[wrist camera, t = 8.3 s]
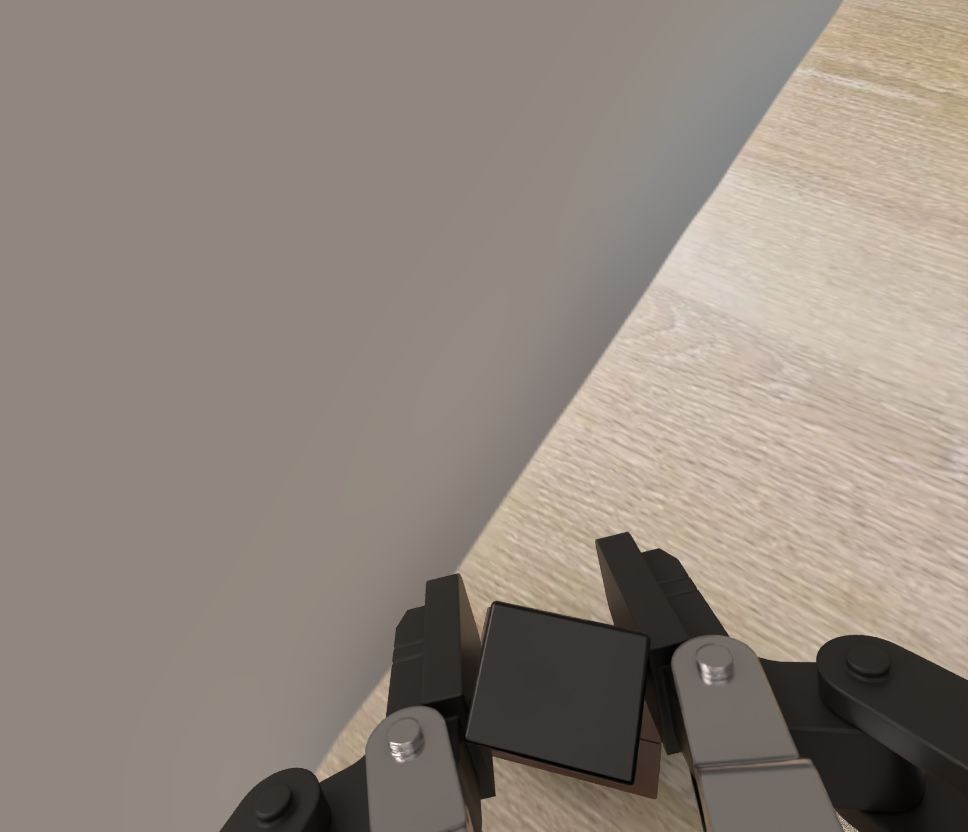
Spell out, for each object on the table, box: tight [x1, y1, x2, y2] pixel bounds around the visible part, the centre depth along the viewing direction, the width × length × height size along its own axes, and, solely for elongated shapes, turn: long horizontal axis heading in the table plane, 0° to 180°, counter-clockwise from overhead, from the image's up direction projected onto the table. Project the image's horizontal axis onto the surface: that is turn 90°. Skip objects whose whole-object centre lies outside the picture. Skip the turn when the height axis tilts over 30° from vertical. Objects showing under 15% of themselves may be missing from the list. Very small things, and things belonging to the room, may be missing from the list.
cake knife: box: [463, 601, 651, 787], centre depth 16 cm, size 2×3×16 cm, turn 77°
